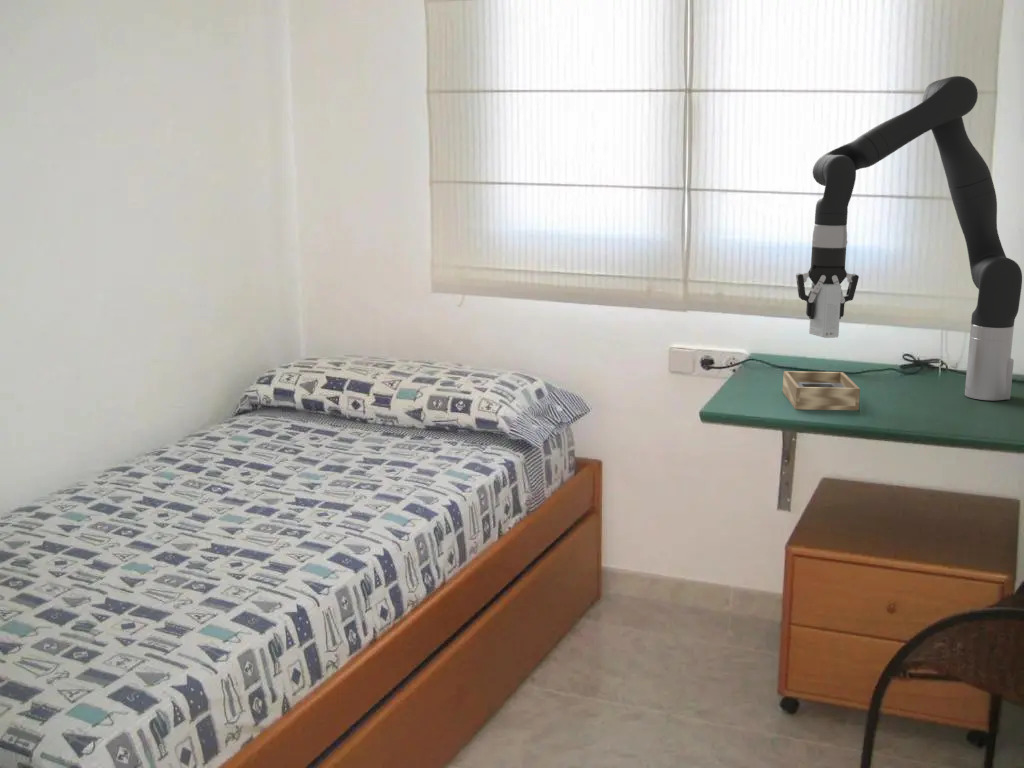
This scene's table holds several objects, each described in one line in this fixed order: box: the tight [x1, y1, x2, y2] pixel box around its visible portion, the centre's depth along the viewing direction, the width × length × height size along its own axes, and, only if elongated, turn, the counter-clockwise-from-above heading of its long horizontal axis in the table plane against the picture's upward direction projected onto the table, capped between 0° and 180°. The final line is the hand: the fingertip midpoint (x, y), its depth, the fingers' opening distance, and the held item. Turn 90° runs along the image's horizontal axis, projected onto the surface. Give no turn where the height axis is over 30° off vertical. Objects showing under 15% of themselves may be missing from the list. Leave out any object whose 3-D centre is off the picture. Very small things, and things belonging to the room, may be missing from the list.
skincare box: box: [808, 282, 842, 339], centre depth 256 cm, size 6×4×12 cm
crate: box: [782, 370, 861, 411], centre depth 260 cm, size 14×18×5 cm
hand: (824, 318), depth 257 cm, fingers closed on skincare box, 5 cm apart
